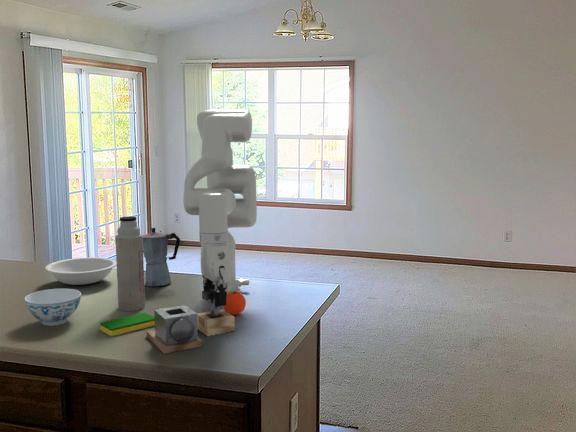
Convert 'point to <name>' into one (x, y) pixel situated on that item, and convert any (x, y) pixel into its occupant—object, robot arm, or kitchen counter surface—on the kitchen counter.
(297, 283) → the kitchen counter surface
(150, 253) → the moka pot
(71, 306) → the chinaware
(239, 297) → the clementine
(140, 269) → the thermos bottle
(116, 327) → the dish sponge
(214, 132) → the robot arm
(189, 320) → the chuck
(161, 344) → the board
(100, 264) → the soup bowl
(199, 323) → the wooden square frame
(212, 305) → the chuck key
